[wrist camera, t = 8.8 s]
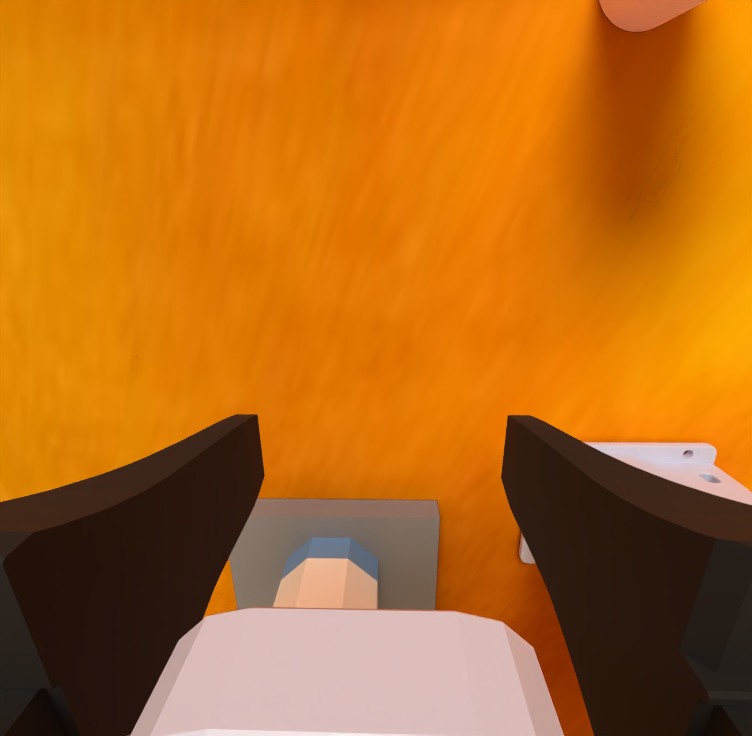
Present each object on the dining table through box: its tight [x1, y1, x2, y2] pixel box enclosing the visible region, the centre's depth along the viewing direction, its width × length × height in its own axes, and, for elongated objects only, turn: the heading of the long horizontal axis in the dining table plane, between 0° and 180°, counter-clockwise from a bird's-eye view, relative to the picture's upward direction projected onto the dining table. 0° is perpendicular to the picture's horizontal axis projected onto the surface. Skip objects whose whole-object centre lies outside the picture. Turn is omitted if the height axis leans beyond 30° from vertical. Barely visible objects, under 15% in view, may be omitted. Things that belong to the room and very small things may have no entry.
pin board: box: [229, 499, 440, 610], centre depth 24 cm, size 12×20×6 cm, turn 1°
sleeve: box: [273, 537, 378, 609], centre depth 21 cm, size 5×5×6 cm
